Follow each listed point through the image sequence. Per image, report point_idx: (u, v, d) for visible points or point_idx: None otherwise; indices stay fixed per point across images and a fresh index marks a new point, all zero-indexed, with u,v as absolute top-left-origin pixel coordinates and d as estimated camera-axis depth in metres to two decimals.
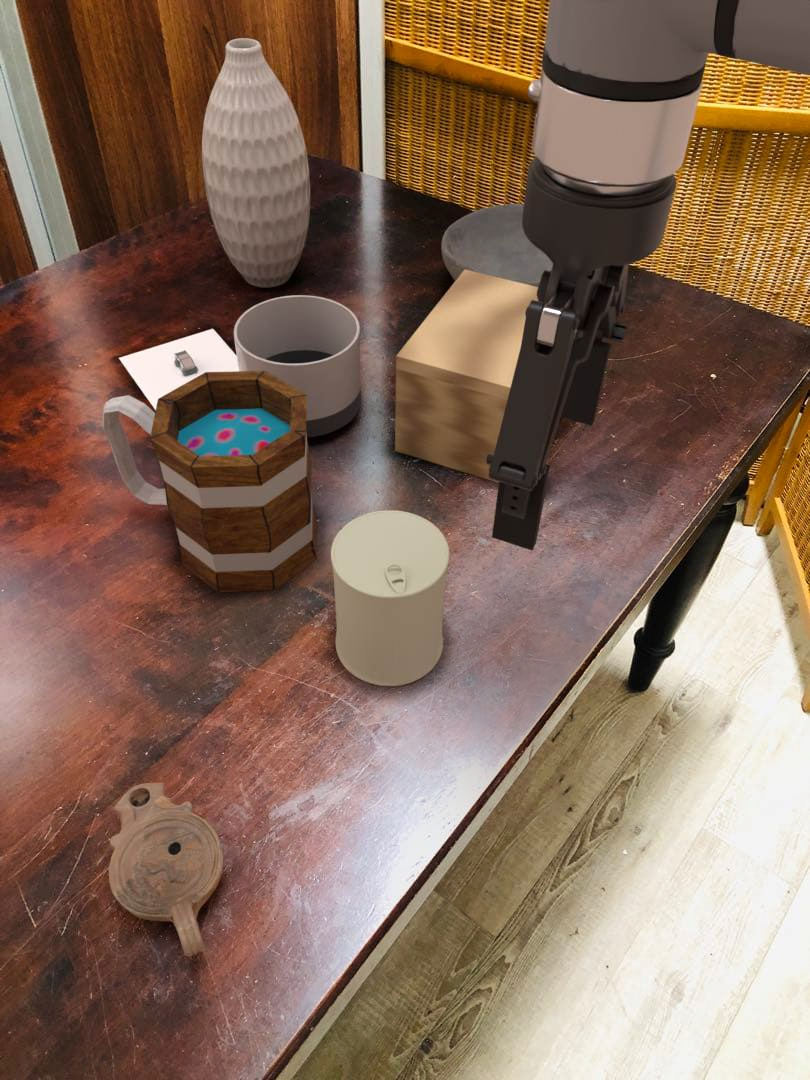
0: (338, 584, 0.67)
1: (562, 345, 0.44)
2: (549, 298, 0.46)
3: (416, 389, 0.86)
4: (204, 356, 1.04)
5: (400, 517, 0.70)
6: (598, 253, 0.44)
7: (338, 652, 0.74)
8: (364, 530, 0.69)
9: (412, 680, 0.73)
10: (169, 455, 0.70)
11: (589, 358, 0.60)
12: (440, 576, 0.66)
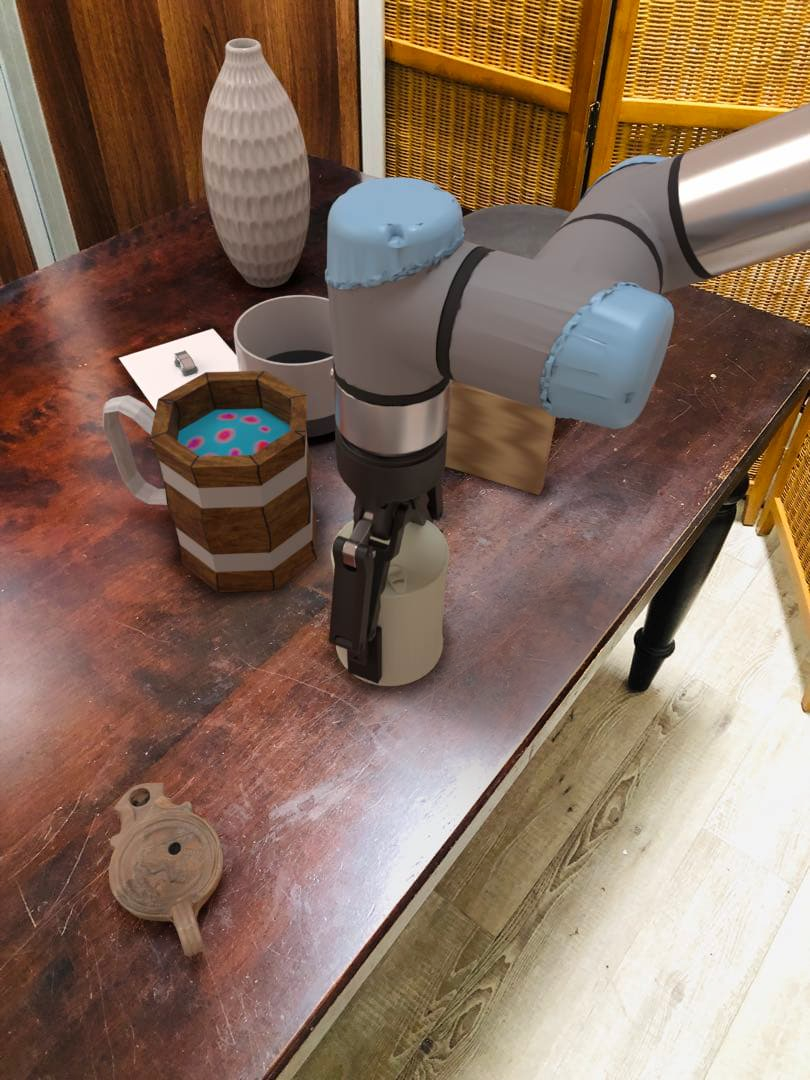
0: None
1: (361, 569, 0.59)
2: (355, 520, 0.60)
3: None
4: (204, 356, 1.04)
5: None
6: (385, 494, 0.58)
7: (338, 652, 0.74)
8: None
9: (412, 680, 0.73)
10: (169, 455, 0.70)
11: None
12: (440, 576, 0.66)
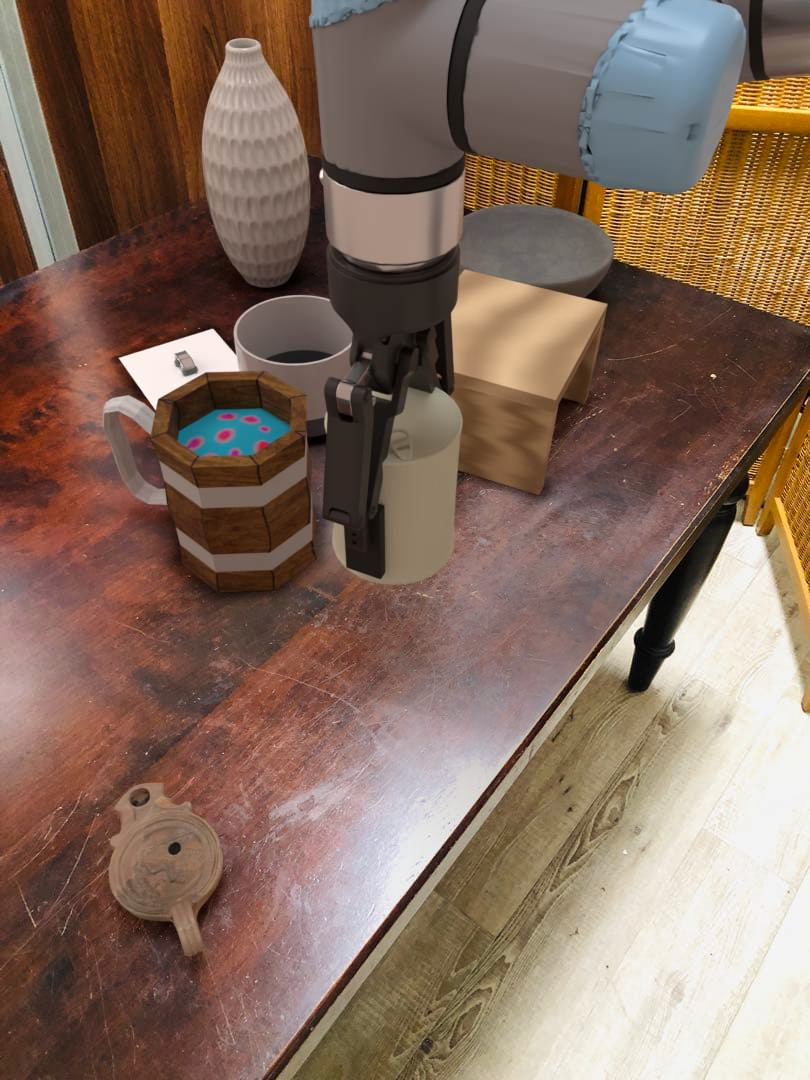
0: None
1: (359, 416, 0.50)
2: (351, 361, 0.50)
3: None
4: (204, 356, 1.04)
5: None
6: (387, 323, 0.48)
7: (335, 549, 0.65)
8: None
9: (420, 578, 0.63)
10: (169, 455, 0.70)
11: None
12: (452, 443, 0.56)
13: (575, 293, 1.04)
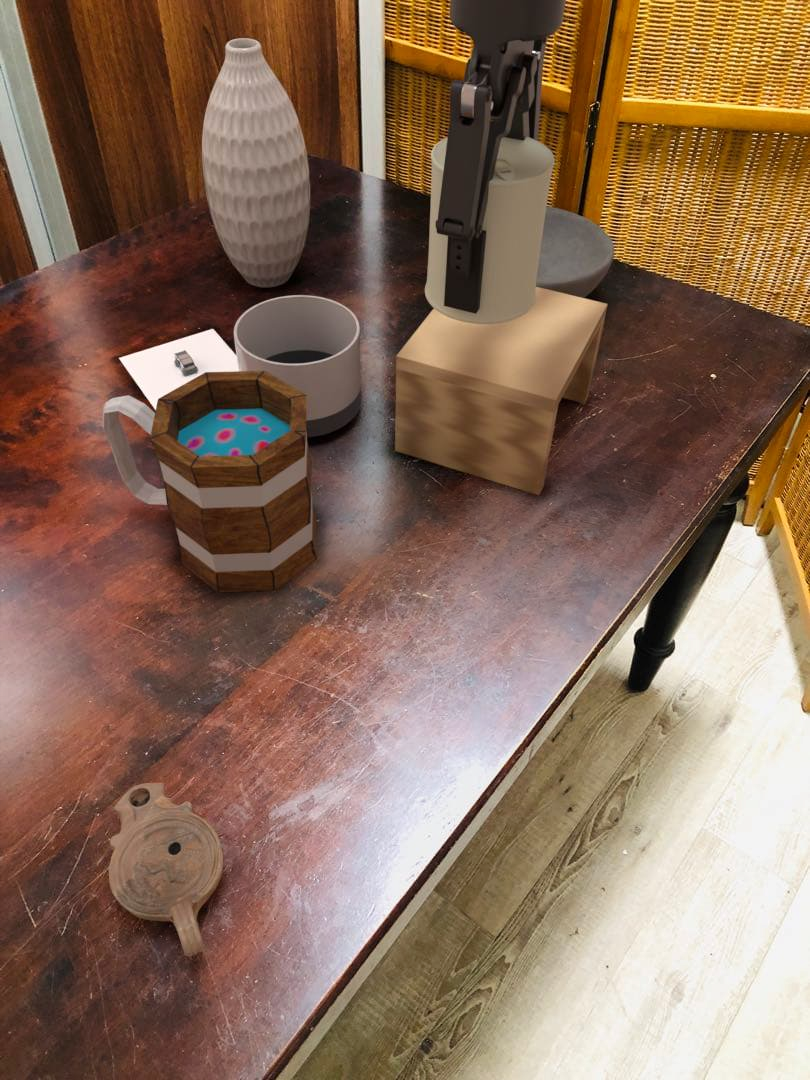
0: (440, 186, 0.64)
1: (480, 116, 0.57)
2: (471, 72, 0.57)
3: (416, 389, 0.86)
4: (204, 356, 1.04)
5: None
6: (507, 27, 0.55)
7: (429, 298, 0.72)
8: None
9: (508, 318, 0.70)
10: (169, 455, 0.70)
11: None
12: (548, 170, 0.63)
13: (575, 293, 1.04)
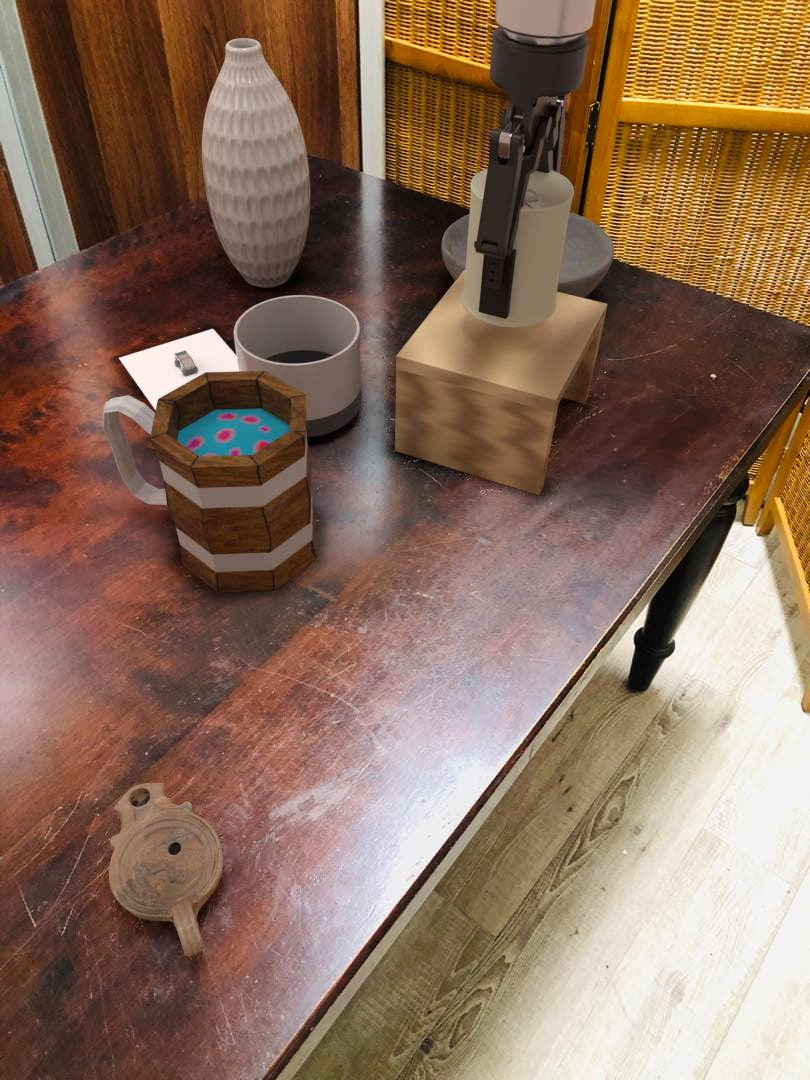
0: (478, 212, 0.77)
1: (514, 158, 0.69)
2: (507, 121, 0.70)
3: (416, 389, 0.86)
4: (204, 356, 1.04)
5: None
6: (537, 86, 0.68)
7: (465, 304, 0.84)
8: None
9: (533, 322, 0.83)
10: (169, 455, 0.70)
11: None
12: (568, 200, 0.76)
13: (575, 293, 1.04)
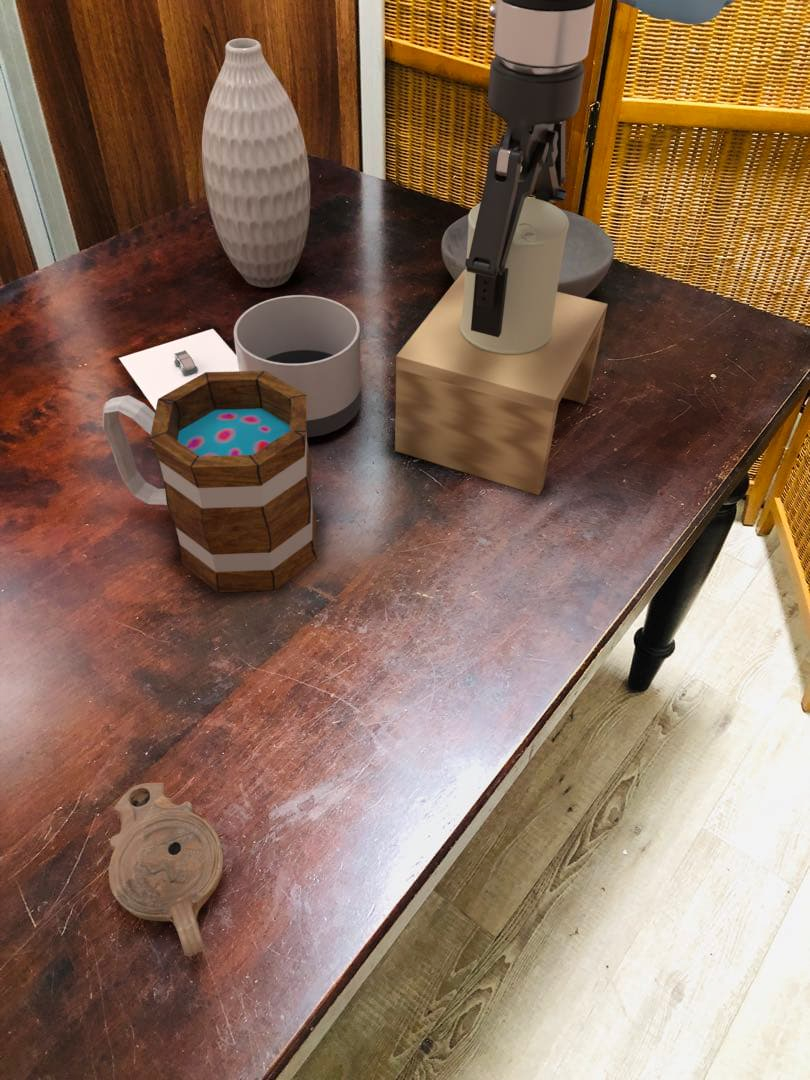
0: None
1: (512, 174, 0.70)
2: (505, 147, 0.71)
3: (416, 389, 0.86)
4: (204, 356, 1.04)
5: None
6: (534, 114, 0.69)
7: (464, 332, 0.86)
8: None
9: (529, 350, 0.85)
10: (169, 455, 0.70)
11: None
12: (563, 233, 0.78)
13: (575, 293, 1.04)
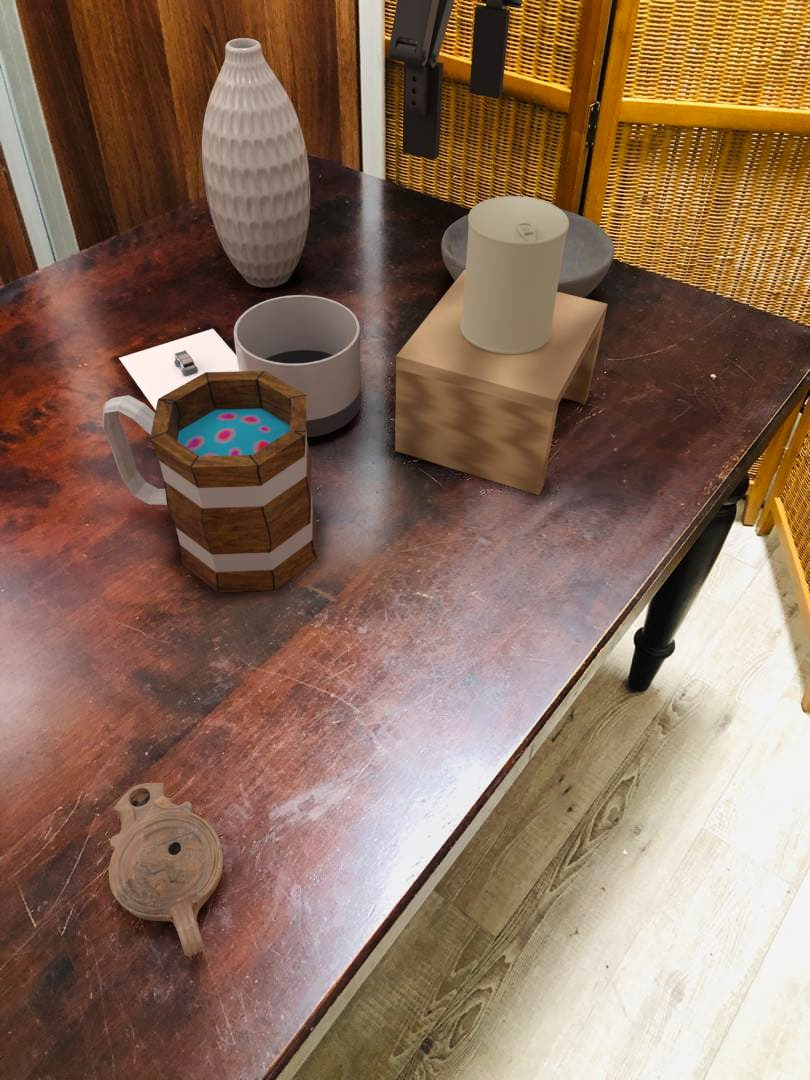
0: (475, 244, 0.79)
1: None
2: None
3: (416, 389, 0.86)
4: (204, 356, 1.04)
5: (523, 200, 0.82)
6: None
7: (464, 332, 0.86)
8: (494, 207, 0.81)
9: (529, 349, 0.85)
10: (169, 455, 0.70)
11: (492, 24, 0.71)
12: (563, 233, 0.78)
13: (575, 293, 1.04)
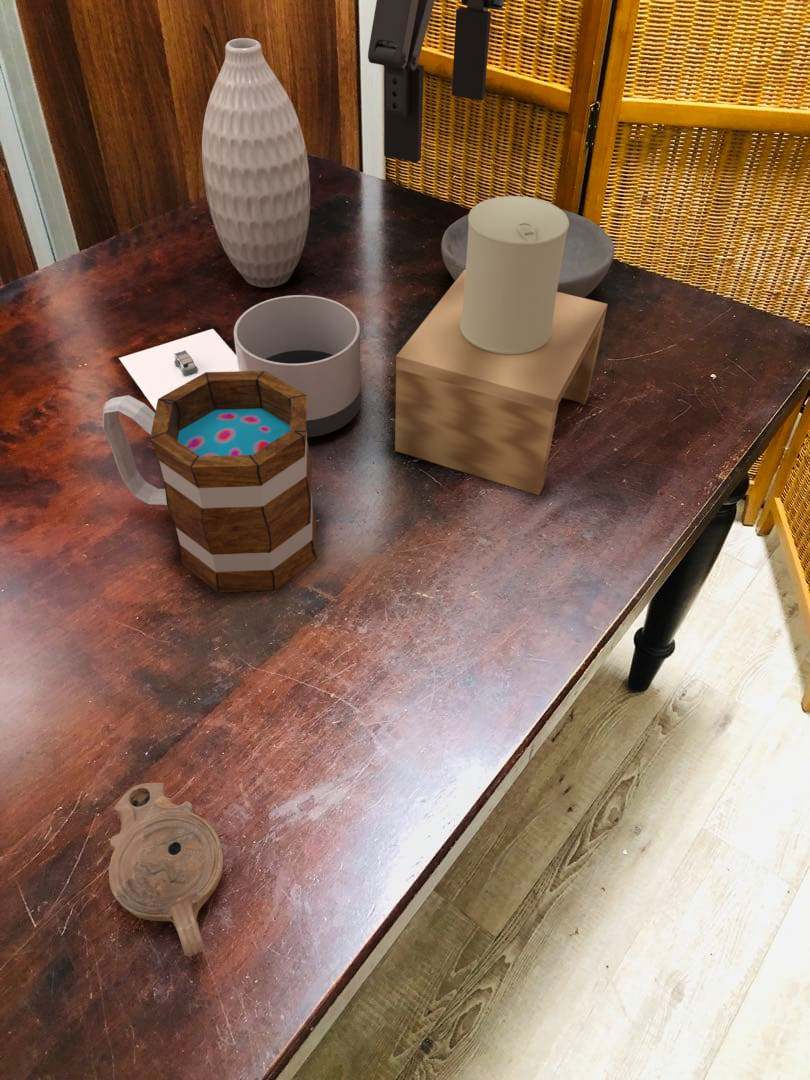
0: (475, 244, 0.79)
1: None
2: None
3: (416, 389, 0.86)
4: (204, 356, 1.04)
5: (523, 200, 0.82)
6: None
7: (464, 331, 0.86)
8: (494, 207, 0.81)
9: (529, 349, 0.85)
10: (169, 455, 0.70)
11: (473, 27, 0.71)
12: (563, 232, 0.78)
13: (575, 293, 1.04)
